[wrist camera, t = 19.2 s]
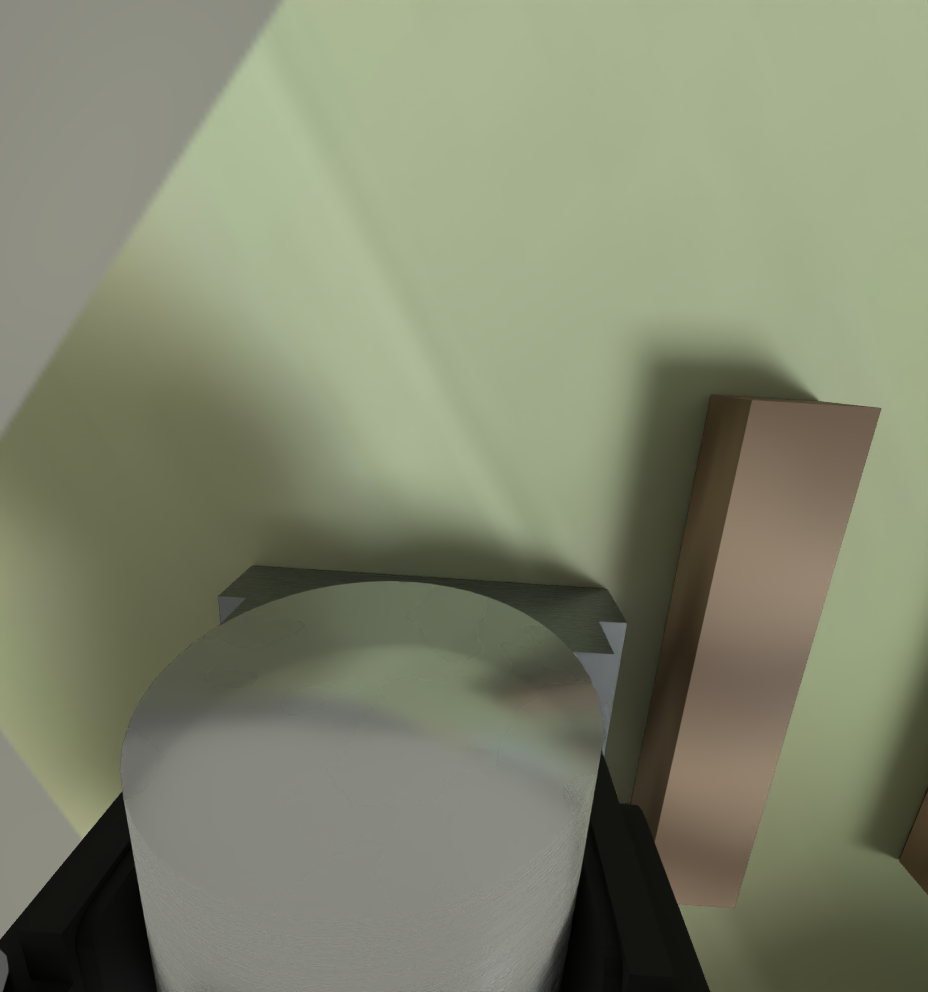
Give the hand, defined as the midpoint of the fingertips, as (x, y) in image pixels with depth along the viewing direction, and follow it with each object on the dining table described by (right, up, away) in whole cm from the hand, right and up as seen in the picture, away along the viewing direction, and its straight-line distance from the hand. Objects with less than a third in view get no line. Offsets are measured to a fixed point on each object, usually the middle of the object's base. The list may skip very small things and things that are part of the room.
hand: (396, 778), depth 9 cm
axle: (0, -4, +2) cm, 5 cm away
